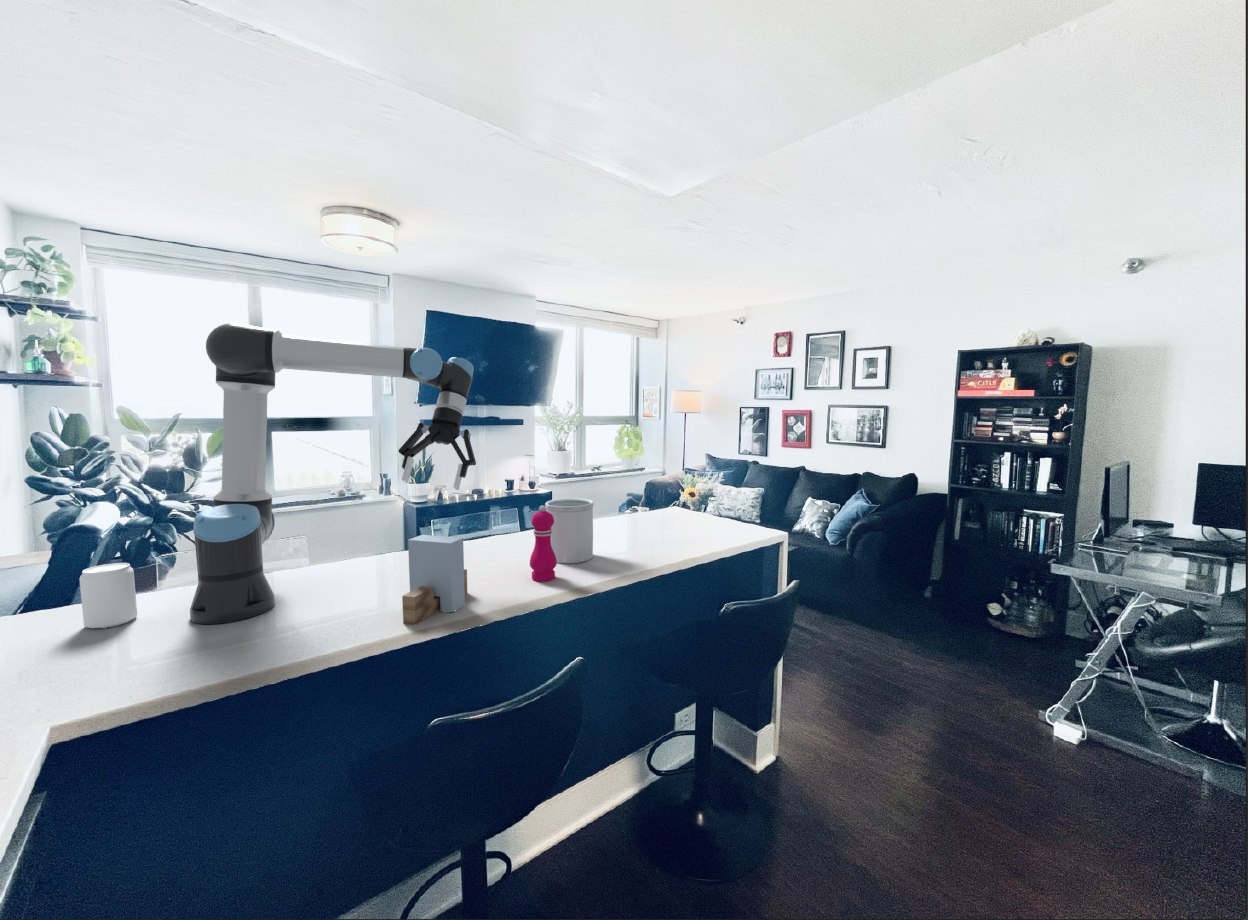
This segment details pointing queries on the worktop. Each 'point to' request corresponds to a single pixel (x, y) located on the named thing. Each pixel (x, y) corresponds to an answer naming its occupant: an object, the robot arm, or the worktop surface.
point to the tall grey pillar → (438, 568)
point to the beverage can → (108, 595)
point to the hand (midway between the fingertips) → (430, 485)
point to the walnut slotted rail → (422, 603)
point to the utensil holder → (571, 529)
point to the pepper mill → (543, 547)
